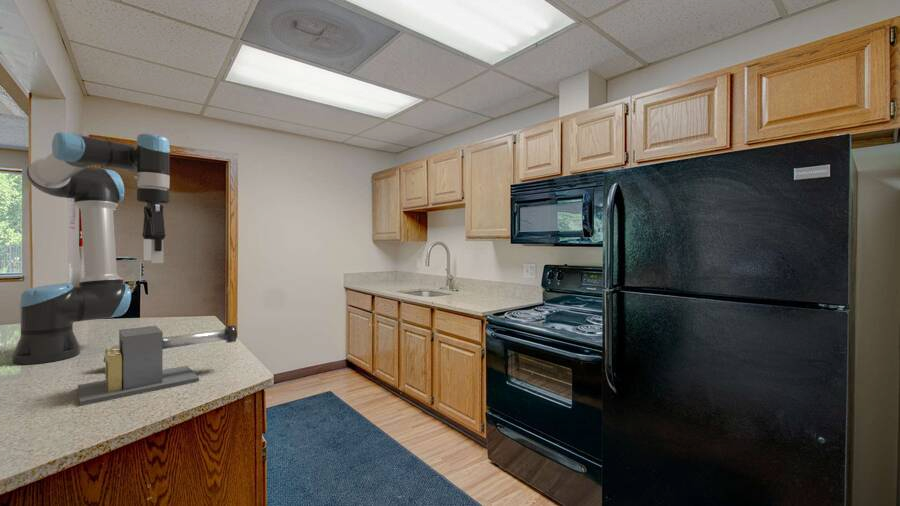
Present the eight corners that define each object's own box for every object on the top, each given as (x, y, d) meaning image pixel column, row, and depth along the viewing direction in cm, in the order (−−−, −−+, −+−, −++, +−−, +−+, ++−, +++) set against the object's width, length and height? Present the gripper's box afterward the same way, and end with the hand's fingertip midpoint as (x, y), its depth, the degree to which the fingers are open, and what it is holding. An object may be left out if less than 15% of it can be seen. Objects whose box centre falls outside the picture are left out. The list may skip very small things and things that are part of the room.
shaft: (133, 354, 105) (134, 335, 105) (231, 340, 122) (231, 323, 122) (136, 358, 101) (136, 339, 101) (236, 343, 118) (236, 326, 118)
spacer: (105, 382, 102) (105, 349, 102) (117, 380, 104) (117, 347, 104) (108, 392, 96) (108, 356, 96) (121, 390, 98) (121, 354, 97)
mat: (77, 388, 100) (77, 384, 100) (187, 368, 117) (187, 365, 117) (80, 405, 90) (80, 401, 90) (198, 381, 108) (199, 377, 108)
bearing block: (119, 383, 105) (119, 329, 104) (155, 376, 110) (155, 325, 110) (123, 394, 98) (123, 336, 97) (162, 386, 103) (162, 332, 103)
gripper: (131, 190, 118) (131, 259, 119) (143, 183, 101) (143, 264, 101) (161, 193, 124) (161, 259, 124) (178, 187, 106) (177, 263, 107)
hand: (153, 261), depth 113 cm, fingers open, 13 cm apart
